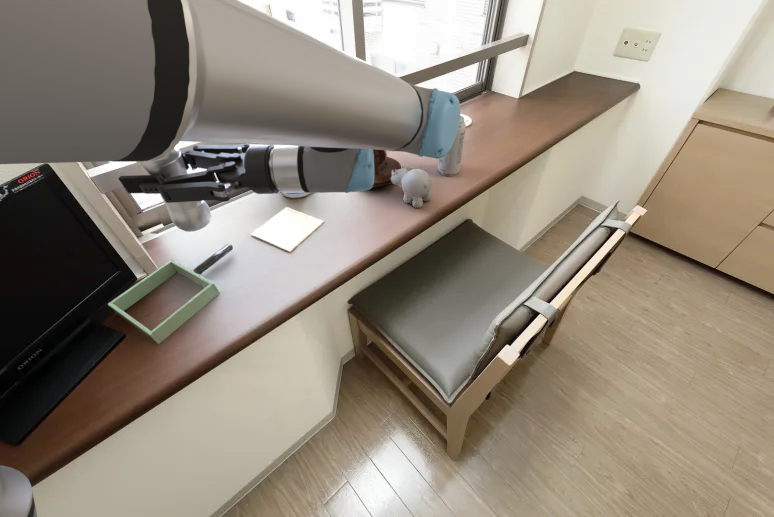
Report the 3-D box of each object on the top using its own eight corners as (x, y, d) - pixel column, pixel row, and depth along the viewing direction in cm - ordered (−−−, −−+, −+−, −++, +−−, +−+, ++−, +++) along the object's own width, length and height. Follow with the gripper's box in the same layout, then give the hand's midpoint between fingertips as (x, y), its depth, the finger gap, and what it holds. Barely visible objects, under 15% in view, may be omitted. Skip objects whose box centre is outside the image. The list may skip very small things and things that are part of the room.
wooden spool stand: (405, 188, 90) (406, 112, 76) (350, 194, 89) (340, 118, 75) (396, 161, 101) (396, 90, 87) (347, 166, 100) (338, 94, 85)
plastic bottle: (206, 209, 66) (151, 103, 52) (221, 224, 62) (168, 115, 48) (172, 225, 63) (105, 116, 49) (186, 241, 59) (118, 130, 45)
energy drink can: (439, 165, 98) (444, 113, 88) (460, 167, 97) (467, 114, 86) (436, 176, 94) (440, 122, 84) (457, 178, 93) (465, 124, 82)
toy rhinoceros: (402, 182, 93) (402, 153, 86) (436, 200, 86) (438, 170, 80) (383, 193, 89) (381, 164, 83) (416, 212, 83) (417, 182, 77)
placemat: (290, 252, 74) (289, 251, 74) (251, 235, 79) (250, 234, 78) (324, 222, 81) (323, 221, 81) (286, 208, 86) (286, 206, 86)
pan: (158, 344, 59) (149, 335, 57) (116, 313, 64) (107, 304, 62) (256, 262, 72) (251, 252, 70) (215, 242, 77) (209, 232, 75)
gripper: (268, 226, 50) (116, 229, 51) (295, 160, 63) (174, 163, 64) (252, 182, 45) (82, 186, 45) (285, 120, 58) (153, 124, 59)
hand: (136, 173), depth 55 cm, fingers closed on plastic bottle, 6 cm apart
